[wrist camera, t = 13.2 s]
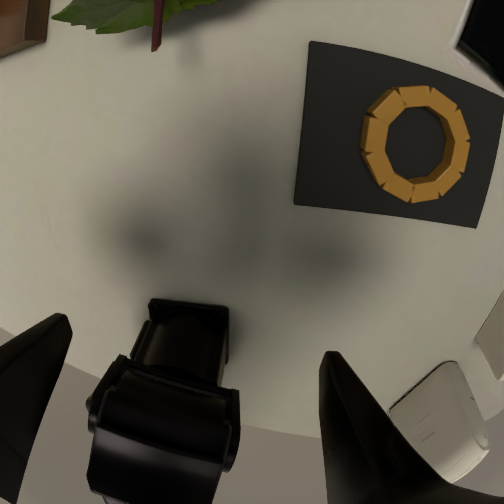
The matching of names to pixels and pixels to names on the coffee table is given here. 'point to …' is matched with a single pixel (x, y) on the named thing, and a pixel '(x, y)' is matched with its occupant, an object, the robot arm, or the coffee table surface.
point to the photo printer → (444, 423)
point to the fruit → (125, 15)
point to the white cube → (494, 339)
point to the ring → (376, 137)
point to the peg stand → (22, 24)
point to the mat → (389, 136)
